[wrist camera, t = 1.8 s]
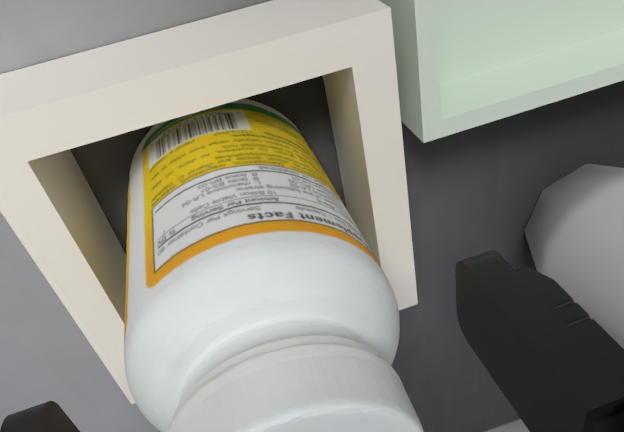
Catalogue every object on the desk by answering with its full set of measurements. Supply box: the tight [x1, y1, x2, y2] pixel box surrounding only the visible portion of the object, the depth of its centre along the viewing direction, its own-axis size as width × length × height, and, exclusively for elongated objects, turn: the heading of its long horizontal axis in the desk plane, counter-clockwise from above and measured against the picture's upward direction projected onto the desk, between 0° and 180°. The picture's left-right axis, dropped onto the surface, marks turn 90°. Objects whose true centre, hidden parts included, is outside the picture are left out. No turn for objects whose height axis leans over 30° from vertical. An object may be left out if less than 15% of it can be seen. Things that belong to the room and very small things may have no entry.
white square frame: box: [0, 0, 418, 404], centre depth 14 cm, size 9×9×3 cm
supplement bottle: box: [124, 98, 424, 432], centre depth 12 cm, size 5×5×10 cm
